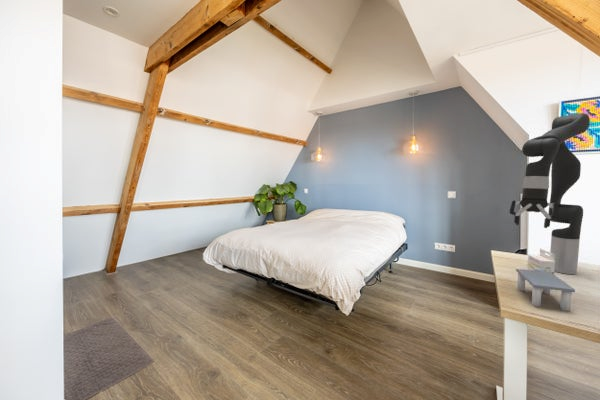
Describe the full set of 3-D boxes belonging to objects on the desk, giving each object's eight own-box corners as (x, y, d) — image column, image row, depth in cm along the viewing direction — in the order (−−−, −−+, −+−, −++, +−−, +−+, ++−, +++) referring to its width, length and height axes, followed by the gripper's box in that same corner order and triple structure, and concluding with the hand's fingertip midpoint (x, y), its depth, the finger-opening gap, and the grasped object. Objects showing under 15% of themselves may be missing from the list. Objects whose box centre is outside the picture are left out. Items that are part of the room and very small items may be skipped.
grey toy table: (515, 287, 103) (516, 268, 102) (548, 291, 99) (550, 272, 98) (532, 306, 89) (534, 284, 88) (573, 312, 84) (575, 289, 83)
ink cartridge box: (525, 278, 111) (527, 247, 110) (538, 278, 110) (540, 248, 109) (540, 286, 103) (542, 254, 101) (553, 287, 102) (556, 254, 100)
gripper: (558, 188, 96) (553, 227, 97) (511, 187, 105) (507, 223, 106) (563, 188, 90) (557, 230, 91) (513, 186, 99) (509, 224, 100)
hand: (530, 226), depth 99 cm, fingers open, 8 cm apart
